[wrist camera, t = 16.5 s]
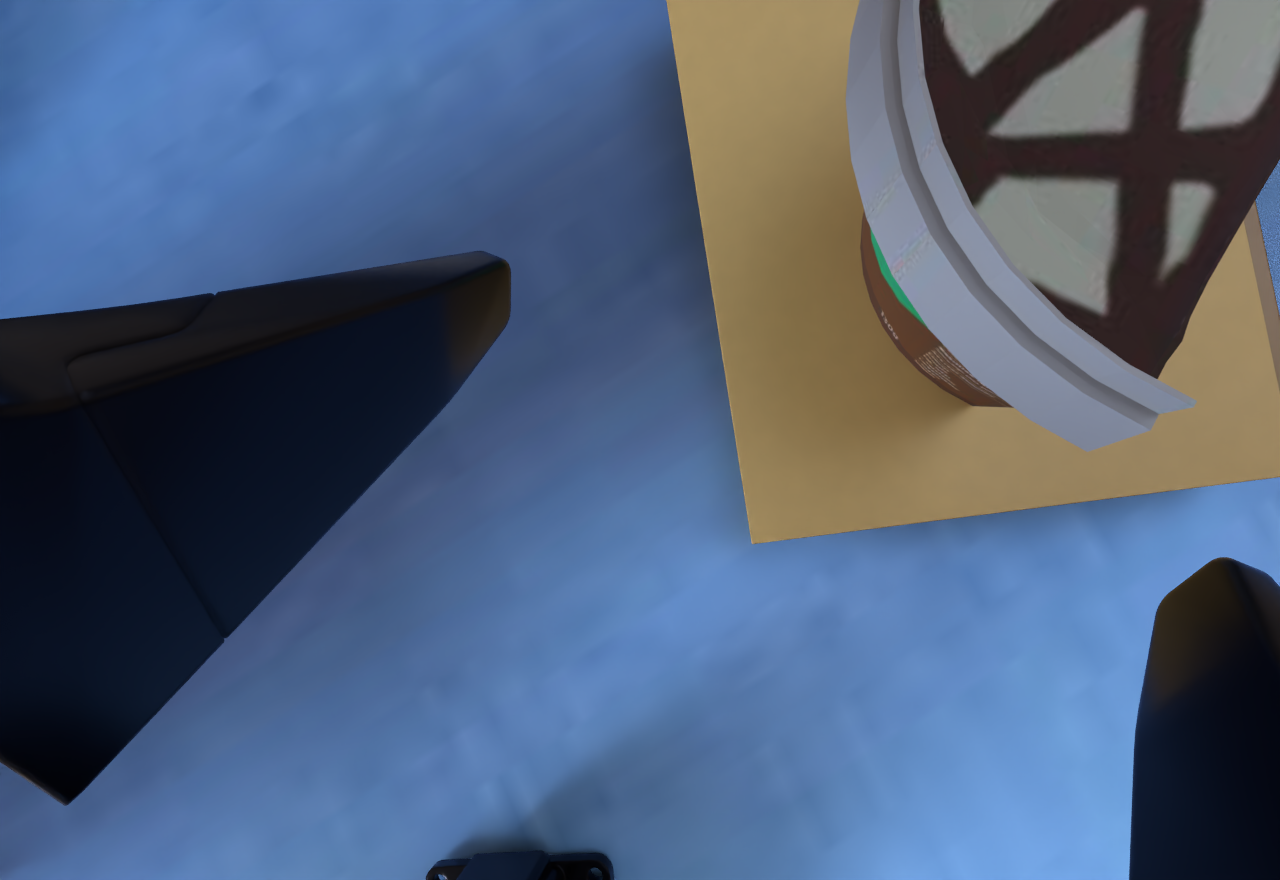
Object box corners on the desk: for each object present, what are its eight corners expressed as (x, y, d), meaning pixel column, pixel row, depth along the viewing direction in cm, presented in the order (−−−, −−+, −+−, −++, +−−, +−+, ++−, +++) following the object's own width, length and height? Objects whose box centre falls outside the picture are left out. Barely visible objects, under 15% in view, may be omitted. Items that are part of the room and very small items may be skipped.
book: (1217, 471, 19) (1313, 472, 16) (754, 531, 22) (751, 544, 18) (1105, -83, 20) (1172, -194, 17) (676, 33, 23) (659, -43, 19)
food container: (947, -61, 18) (1164, -696, 8) (1182, 19, 17) (1766, -608, 7) (733, 354, 19) (692, 231, 9) (945, 457, 17) (1171, 449, 8)
